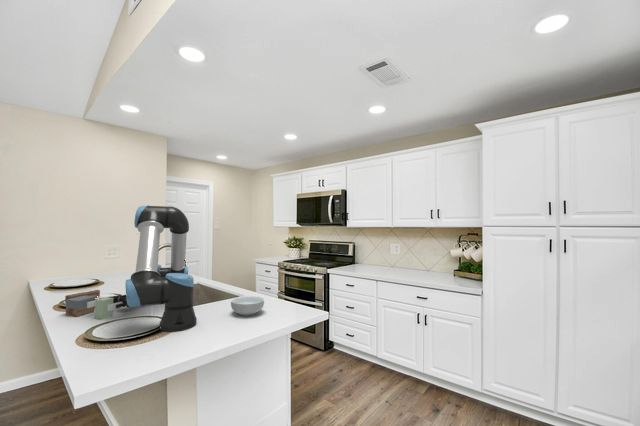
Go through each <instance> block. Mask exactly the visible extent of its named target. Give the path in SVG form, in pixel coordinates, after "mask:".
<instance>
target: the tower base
mask: <svg viewBox="0 0 640 426" xmlns="http://www.w3.org/2000/svg"><path fill="white" fill-rule="evenodd" d="M93 313H94V314H95V307H91V308H87V307H85V308H81V309H72V308H66V307H65V316H66V317H74V318H79V317H82V316H83V317H84V316H86V315H89V314H93Z"/></svg>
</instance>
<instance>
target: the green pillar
mask: <svg viewBox="0 0 640 426" xmlns="http://www.w3.org/2000/svg"><path fill="white" fill-rule="evenodd" d="M109 297H110V296H106V297H105V298H104V297H99V298H100V299H99V298H97V299H96V301H95V308H94V319H96V320H101V321H103V320H106V319H109V318H112V317H113V315H114V310H111V311H108V305H111V304H114V303H113V298H109Z"/></svg>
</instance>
